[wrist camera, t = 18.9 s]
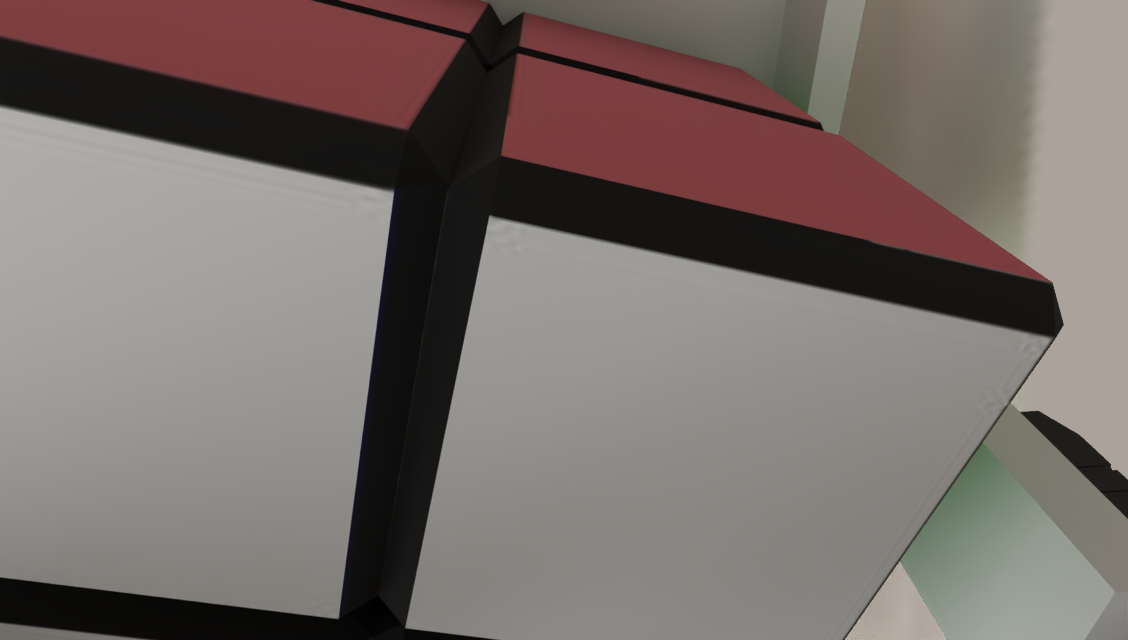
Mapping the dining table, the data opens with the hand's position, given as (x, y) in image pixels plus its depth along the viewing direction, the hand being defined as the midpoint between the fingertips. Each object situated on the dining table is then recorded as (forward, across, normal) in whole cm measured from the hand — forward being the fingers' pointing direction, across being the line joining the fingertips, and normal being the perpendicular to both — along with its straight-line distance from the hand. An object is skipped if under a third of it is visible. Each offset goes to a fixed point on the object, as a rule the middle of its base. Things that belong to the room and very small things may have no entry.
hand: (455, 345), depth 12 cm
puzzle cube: (+4, 0, 0) cm, 4 cm away
